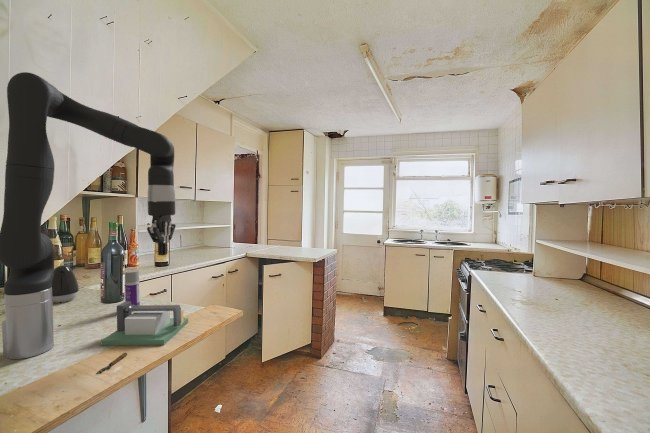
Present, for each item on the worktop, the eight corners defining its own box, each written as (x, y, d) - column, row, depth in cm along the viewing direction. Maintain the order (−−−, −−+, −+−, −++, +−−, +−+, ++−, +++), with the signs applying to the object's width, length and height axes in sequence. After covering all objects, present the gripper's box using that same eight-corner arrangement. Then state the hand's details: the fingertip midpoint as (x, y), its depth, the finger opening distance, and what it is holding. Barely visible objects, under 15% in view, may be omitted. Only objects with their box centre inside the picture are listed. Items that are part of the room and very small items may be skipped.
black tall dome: (45, 307, 115) (44, 269, 114) (47, 300, 123) (45, 264, 122) (79, 301, 122) (78, 265, 121) (78, 295, 130) (77, 261, 129)
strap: (123, 327, 91) (122, 308, 91) (130, 322, 94) (130, 304, 94) (176, 326, 91) (175, 307, 91) (181, 322, 95) (181, 303, 95)
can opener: (124, 356, 79) (123, 352, 79) (131, 356, 79) (131, 352, 79) (92, 375, 71) (92, 371, 70) (100, 376, 70) (100, 372, 70)
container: (123, 312, 110) (122, 273, 110) (128, 307, 115) (127, 270, 114) (137, 310, 112) (136, 272, 111) (141, 306, 116) (140, 269, 116)
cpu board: (101, 345, 85) (100, 313, 84) (135, 322, 101) (135, 295, 100) (164, 344, 85) (163, 313, 85) (188, 322, 101) (187, 295, 101)
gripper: (160, 200, 98) (161, 251, 98) (136, 199, 84) (137, 259, 85) (183, 200, 98) (184, 251, 99) (162, 200, 85) (163, 259, 85)
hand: (162, 254), depth 92 cm, fingers closed
